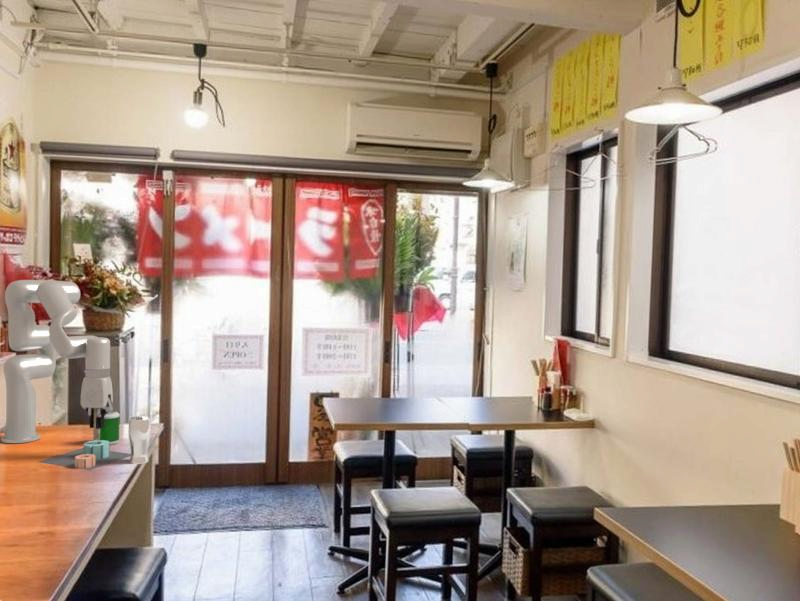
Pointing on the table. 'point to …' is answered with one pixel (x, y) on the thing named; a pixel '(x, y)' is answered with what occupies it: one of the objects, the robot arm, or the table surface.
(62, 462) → the mat
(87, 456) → the bead small
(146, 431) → the beer glass
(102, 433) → the soda can
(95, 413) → the tan wooden dowel
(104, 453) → the pale teal gear
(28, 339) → the robot arm
